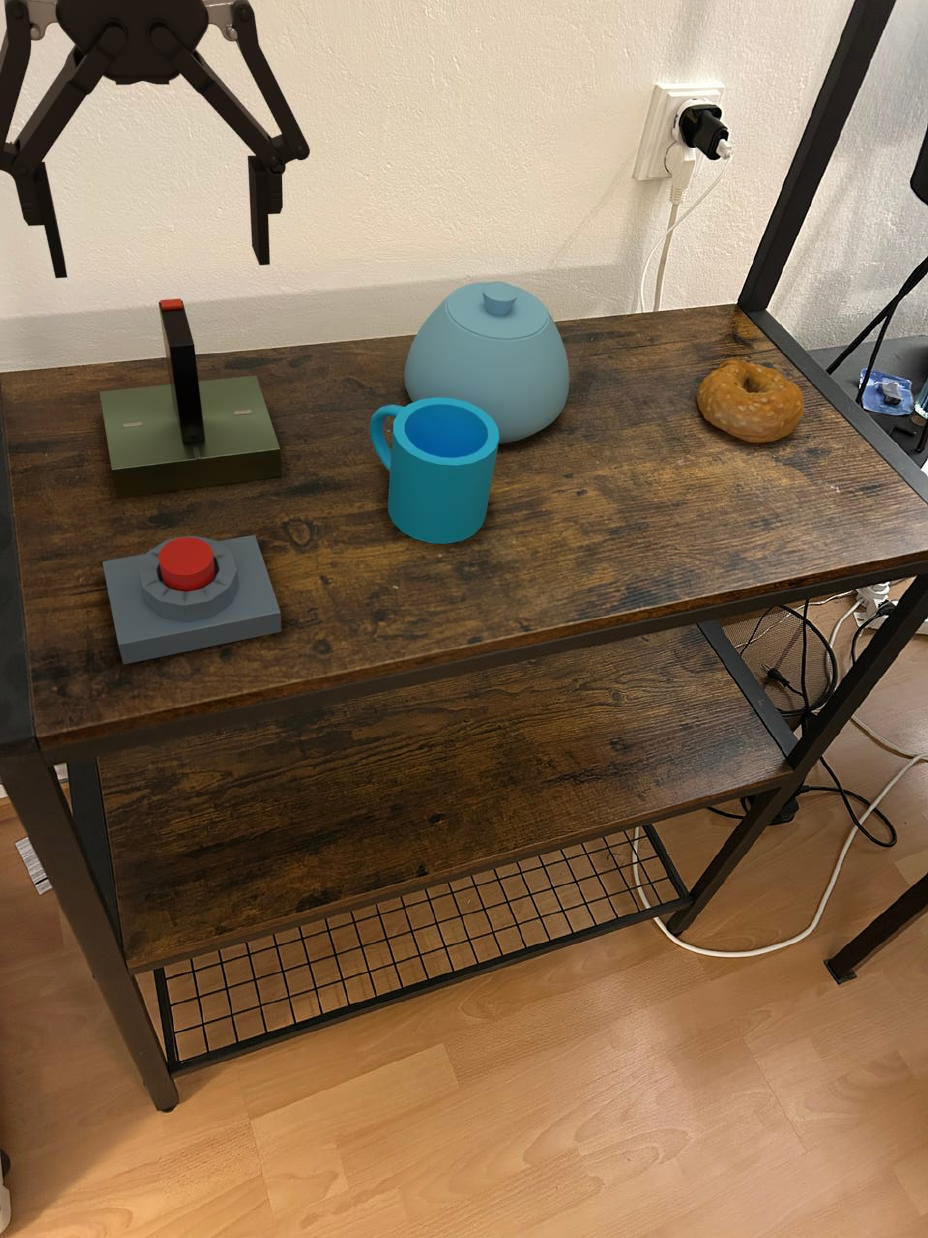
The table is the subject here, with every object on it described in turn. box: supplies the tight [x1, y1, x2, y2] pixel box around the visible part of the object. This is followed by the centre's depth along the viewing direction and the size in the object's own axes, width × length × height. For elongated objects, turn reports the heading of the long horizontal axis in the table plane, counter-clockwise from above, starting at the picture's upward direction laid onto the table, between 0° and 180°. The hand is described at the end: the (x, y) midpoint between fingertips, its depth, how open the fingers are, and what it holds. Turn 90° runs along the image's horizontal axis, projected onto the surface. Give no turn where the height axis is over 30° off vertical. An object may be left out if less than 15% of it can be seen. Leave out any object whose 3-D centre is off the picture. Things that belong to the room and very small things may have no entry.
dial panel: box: [98, 375, 282, 499], centre depth 80 cm, size 13×10×3 cm
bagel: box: [696, 358, 805, 444], centre depth 92 cm, size 10×11×5 cm
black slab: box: [158, 298, 205, 443], centre depth 76 cm, size 6×2×9 cm, turn 19°
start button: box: [159, 536, 215, 592], centre depth 67 cm, size 4×4×2 cm
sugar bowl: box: [403, 280, 570, 445], centre depth 86 cm, size 15×15×12 cm
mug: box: [369, 397, 499, 545], centre depth 78 cm, size 12×8×8 cm
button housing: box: [101, 534, 283, 665], centre depth 69 cm, size 11×8×4 cm
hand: (163, 261), depth 68 cm, fingers open, 13 cm apart
